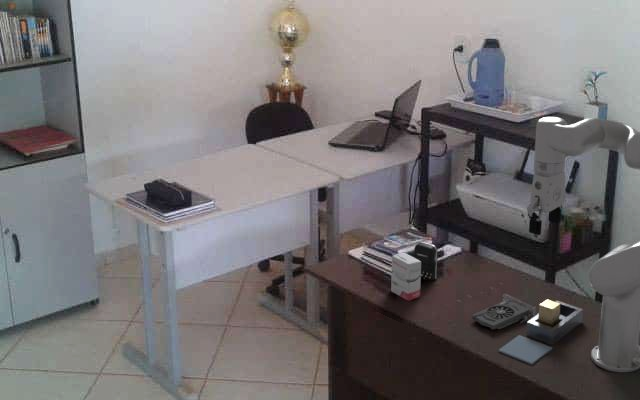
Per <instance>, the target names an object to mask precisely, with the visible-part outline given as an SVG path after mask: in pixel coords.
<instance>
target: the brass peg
mask: <svg viewBox="0 0 640 400" xmlns="http://www.w3.org/2000/svg"><path fill="white" fill-rule="evenodd" d="M538 307H539V308H538V314H539V319H538V323H541V324H544V325H547V326H549V327H552V328H553V327H554V326H556V325H557V324H558V323H559V316H560V303H557V302H556V301H553V300H550V299H548V298H547V299H545V300H543V302H541V303H539V306H538Z"/></svg>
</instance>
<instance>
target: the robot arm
mask: <svg viewBox="0 0 640 400" xmlns="http://www.w3.org/2000/svg"><path fill="white" fill-rule="evenodd" d="M535 128H536V129H535V141H534V143H535V144H534V159H533V172H534V175H533V177H532V184H531V189H530V199H529V200H530V203H529V204H528V205H527V207H526V211H527V216H528V219H529V221H528V222H529V226H528V232H529V233H530V234H534V235H537V236H540V235H541V234H542V225H543V224H542V223H543V220H542V219H541V218H542V217H543V215H544V214H548V219H547V220H548V222H551V223H555V224H557V225H558V224H560V223H561V218H562V208H563V204H564V203H565V202H566V201H565V199H566V190H567V189H566V174H565V163H566V156H568V157H573V158H575V157H579V156H582V155H584V154H586V153H588V152H589V151H592V150H593V149H596V148H599V149H605V150H610V151H614V152H617V153H620V154H622V155H623V159H624V163H625V164H626V166H628V168H630V169H636V170H640V131H638V130H636V129H635V128H633V127H631V126H629V125H628V124H626V123H623V122H619V121H615V120H610V119H605V118H598V117H589V118H585V119H583V120H579V121H577V122H576V123H572V124H569V125H568V122H567V120H565V119H563V118H561V117H558V116H545V117H542V118H540V119H539V120H538V121H537V122H536V127H535ZM536 212H538V214H537V213H536ZM588 279H589V284H590V286H591V287H592V289H593V290H594V291H595V292H597V294H599V295H601V296H602V302H601V310H600V311H601V314H600V322H599V334H598V342H597V343H598V344H597V345H596V346H594V347H593V348H592V349H591V352H590V358H591V360H592V362H593V363H594V364H595V365H597V366H598V367H600V368H602V369H604V370H607V371H610V372H614V373H630V372H631V373H632V372H634V371H637V370H639V369H640V345H639V341H640V240H639V241H637V242H636V243H624V244H621V245H618V246H616V247H615V248H614V249H611V250H610V251H609V252H607V253H606V254H605V255H603V256H602V257H600V258H598V259H597V260H596V261H594V263H593V264H592V265H591V268H590V269H589V272H588Z"/></svg>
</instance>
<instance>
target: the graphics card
mask: <svg viewBox="0 0 640 400" xmlns="http://www.w3.org/2000/svg"><path fill="white" fill-rule="evenodd" d="M502 297H503V298H502V301H500V302H498V303H496V304H494V305H492V306H489V307H487V308H485V309H482V310H480V311H478V312H476V313H473V314H472V315H471V316H472V317H471V318H472V320H473V321H476V322H477V323H479V324H480V325H481V326H485V327H488V328H490V330H496V329H498V330H500V329H503V328H505V327H508V326H509V325H512V324H514V323H517V322H519V321H520V320H521V319H522V320H521V321H520V324H522V323H524V322H528V321H529V320H530V319H532V318H533V317H535V316H536V315H537V312H536V311H537V310H536V309H537V306H532V305H531V304H528V303H527V302H525V301H522V300H520V299H518V298H516V297H513V296H511V295H509V294H507V293H503V294H502ZM520 304H521V305H520Z"/></svg>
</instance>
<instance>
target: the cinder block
mask: <svg viewBox="0 0 640 400" xmlns="http://www.w3.org/2000/svg"><path fill="white" fill-rule="evenodd" d="M555 302H557V303H560V316H559V323H558V324H557V325H556V326H554V327H553V328H552V327H549V326H547V325H544V324H541V323H538V319H539V313H537V314H535V315H536V316H534V317H533V318H531V319H529V320H527V321H526V329H525V331H526V332H525V334H526V336H528V337H530V338H533V339H536V340H539V341H542V342H544V343H547V344H550V345H554V344H556V343H557V342H558V341H560V340H561V339H562V338H563V337H565V336H566V335H567V334H569V333H570V332H571V331H573V330H574V329H575V328H577V327H578V326H579V325H580V324H582V323H583V318H584V317H583V316H584V315H583V314H584V309H583V308H580V307H578V306H574V305H572V304H569V303H565V302H563V301H560V300H555Z"/></svg>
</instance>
